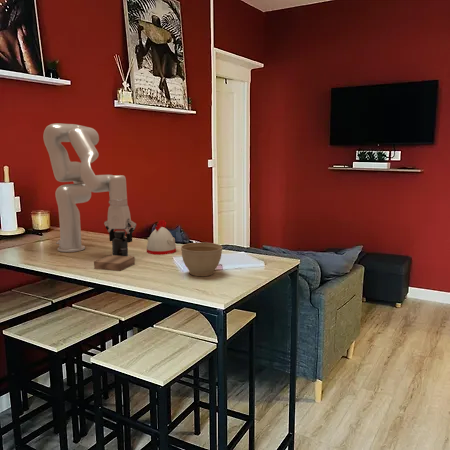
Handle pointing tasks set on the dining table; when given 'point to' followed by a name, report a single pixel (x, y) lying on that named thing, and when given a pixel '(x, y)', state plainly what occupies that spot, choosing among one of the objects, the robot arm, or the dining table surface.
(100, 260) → the base block
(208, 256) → the planter bowl
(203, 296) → the dining table surface
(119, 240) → the supplement bottle
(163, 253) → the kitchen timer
